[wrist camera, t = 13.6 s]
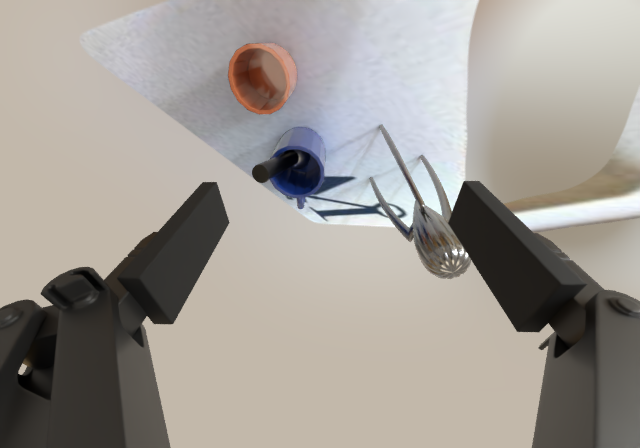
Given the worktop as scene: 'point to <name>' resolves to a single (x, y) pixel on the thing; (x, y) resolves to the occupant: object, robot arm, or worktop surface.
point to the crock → (262, 77)
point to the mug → (307, 178)
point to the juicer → (428, 225)
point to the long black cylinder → (280, 164)
